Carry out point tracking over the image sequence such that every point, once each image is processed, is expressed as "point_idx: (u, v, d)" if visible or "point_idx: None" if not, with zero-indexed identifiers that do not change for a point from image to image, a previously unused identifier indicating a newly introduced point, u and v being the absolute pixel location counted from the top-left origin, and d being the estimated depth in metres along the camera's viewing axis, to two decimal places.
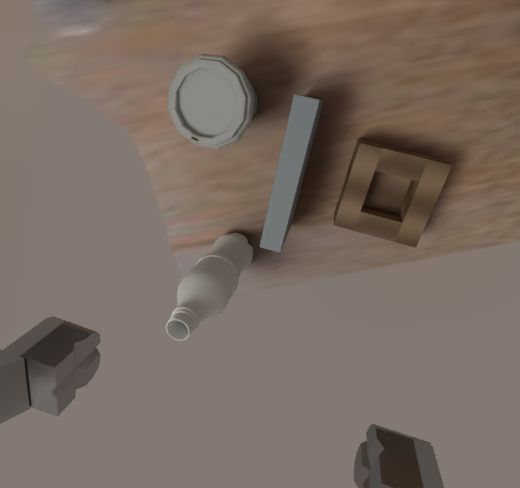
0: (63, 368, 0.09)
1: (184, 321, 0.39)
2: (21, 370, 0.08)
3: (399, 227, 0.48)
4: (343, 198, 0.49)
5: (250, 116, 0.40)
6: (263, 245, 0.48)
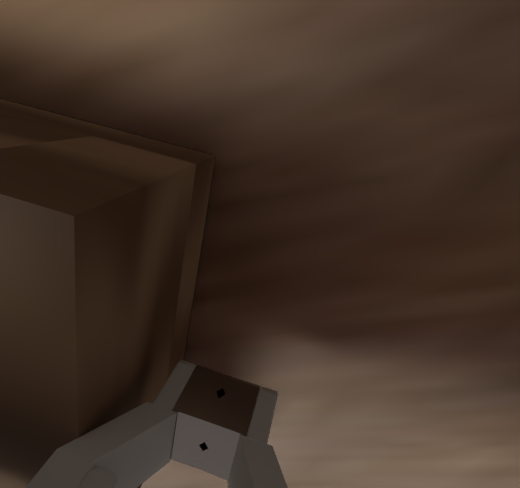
0: None
1: None
2: (172, 424, 0.08)
3: None
4: None
5: None
6: None
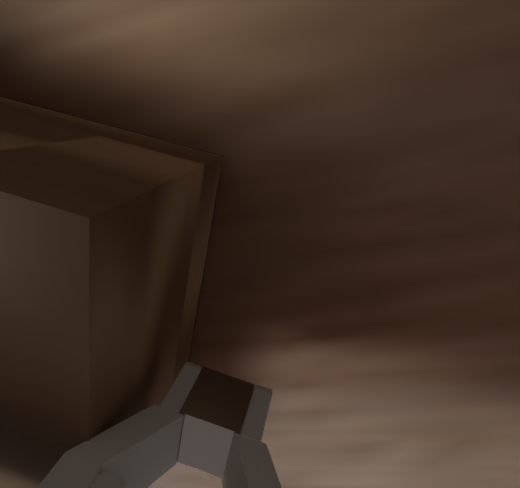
0: None
1: None
2: (179, 427, 0.08)
3: None
4: None
5: None
6: None
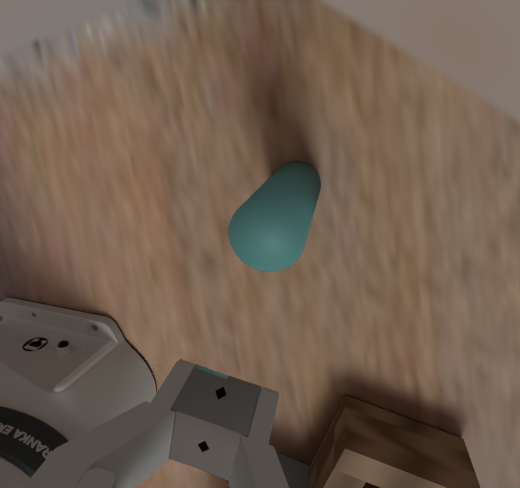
0: None
1: None
2: (171, 424, 0.08)
3: None
4: None
5: None
6: None
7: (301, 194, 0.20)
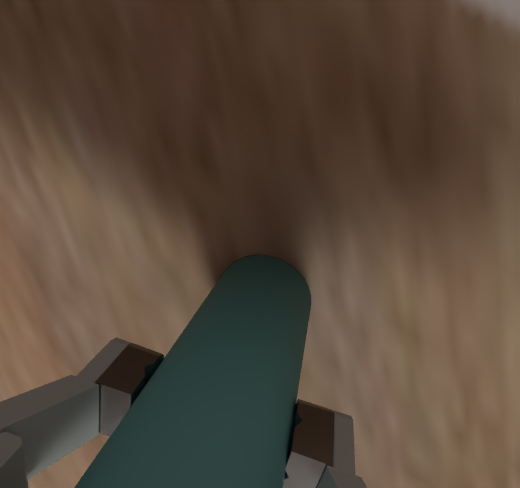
0: (136, 394, 0.08)
1: None
2: (95, 397, 0.08)
3: None
4: None
5: None
6: None
7: None
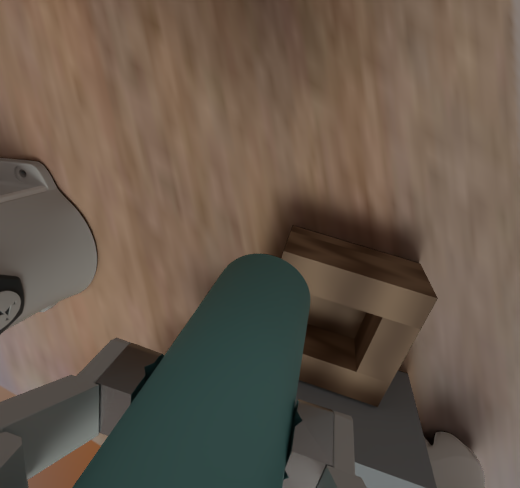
0: (136, 394, 0.08)
1: None
2: (95, 397, 0.08)
3: (391, 322, 0.27)
4: (332, 389, 0.31)
5: None
6: None
7: None
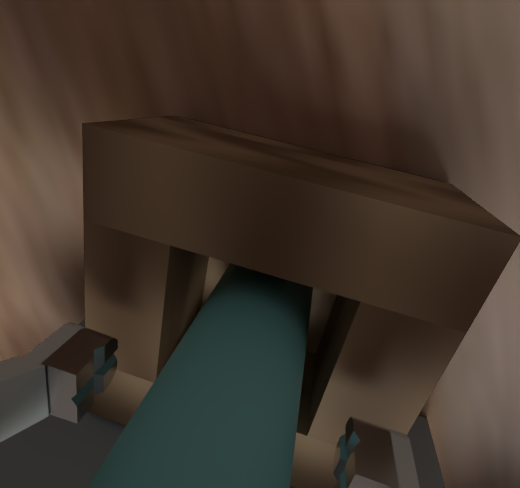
0: (83, 375, 0.09)
1: None
2: (42, 378, 0.08)
3: (385, 313, 0.10)
4: None
5: None
6: None
7: (257, 435, 0.07)
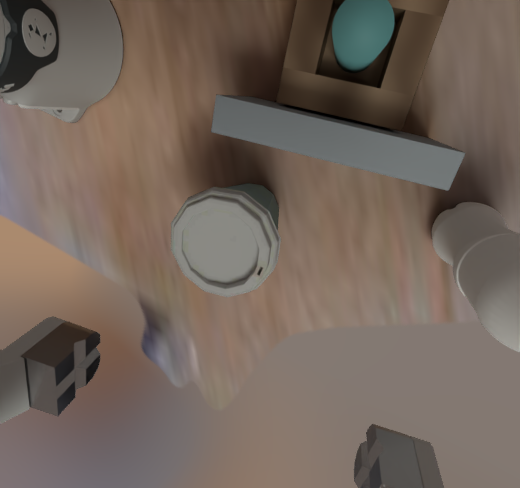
0: (63, 368, 0.09)
1: None
2: (21, 370, 0.08)
3: (414, 13, 0.28)
4: (356, 118, 0.32)
5: (236, 193, 0.30)
6: (446, 183, 0.27)
7: None
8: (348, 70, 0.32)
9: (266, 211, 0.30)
